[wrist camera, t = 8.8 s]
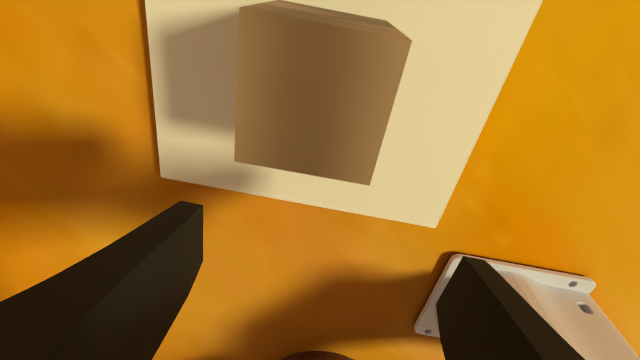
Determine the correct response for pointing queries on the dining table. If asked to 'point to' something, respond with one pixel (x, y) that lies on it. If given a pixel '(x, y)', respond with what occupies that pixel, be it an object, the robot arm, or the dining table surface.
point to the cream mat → (405, 119)
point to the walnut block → (315, 89)
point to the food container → (316, 356)
